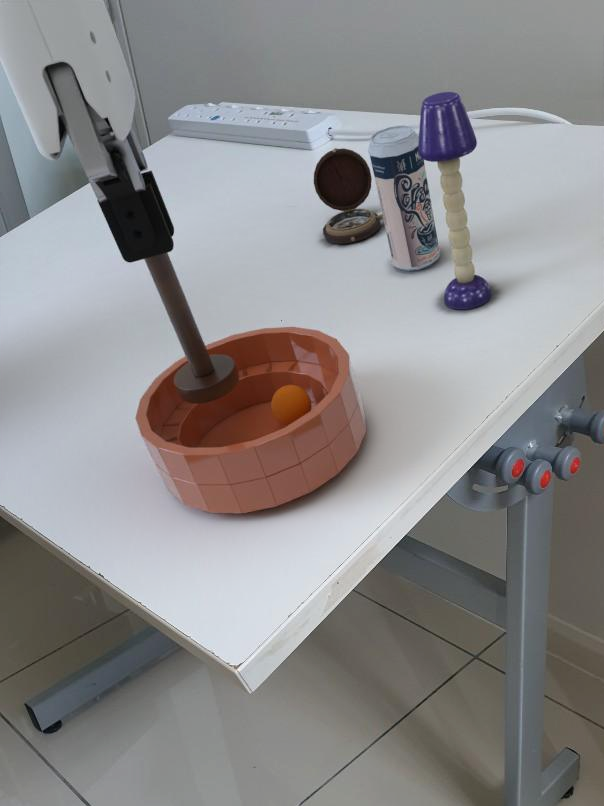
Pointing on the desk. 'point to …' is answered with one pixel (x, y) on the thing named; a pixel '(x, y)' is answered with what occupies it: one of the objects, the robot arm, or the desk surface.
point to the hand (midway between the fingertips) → (150, 246)
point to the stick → (191, 341)
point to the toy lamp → (453, 189)
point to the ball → (290, 404)
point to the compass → (345, 195)
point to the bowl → (256, 424)
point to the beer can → (404, 197)
